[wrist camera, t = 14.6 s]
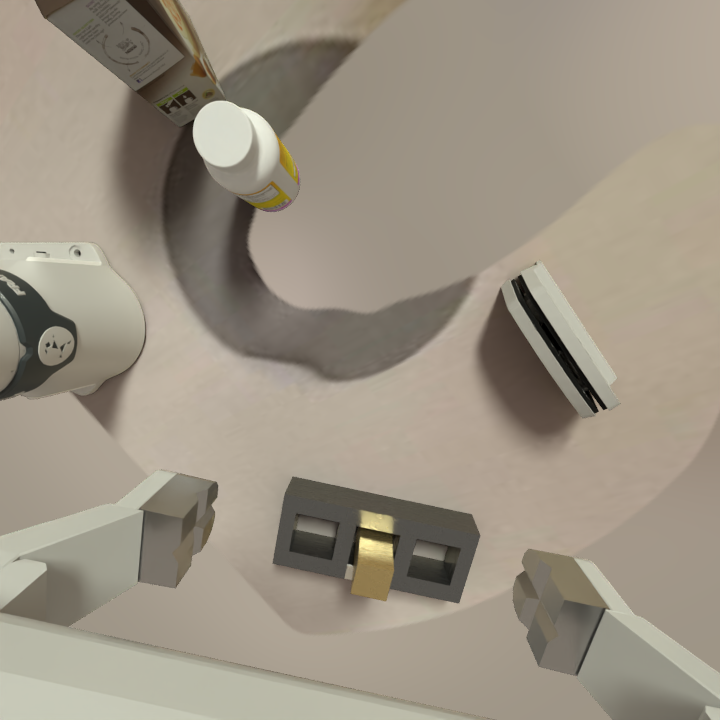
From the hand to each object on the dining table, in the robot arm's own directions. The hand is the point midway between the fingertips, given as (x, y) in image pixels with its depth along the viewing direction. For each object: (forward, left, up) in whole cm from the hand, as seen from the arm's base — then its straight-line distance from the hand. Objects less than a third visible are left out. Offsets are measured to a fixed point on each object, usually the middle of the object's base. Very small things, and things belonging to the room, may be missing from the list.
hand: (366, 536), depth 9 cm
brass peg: (+5, -25, -34) cm, 43 cm away
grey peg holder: (+5, -25, -34) cm, 43 cm away
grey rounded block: (+19, +4, -34) cm, 40 cm away
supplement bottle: (-15, +15, -34) cm, 40 cm away
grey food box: (-26, +24, -34) cm, 49 cm away
